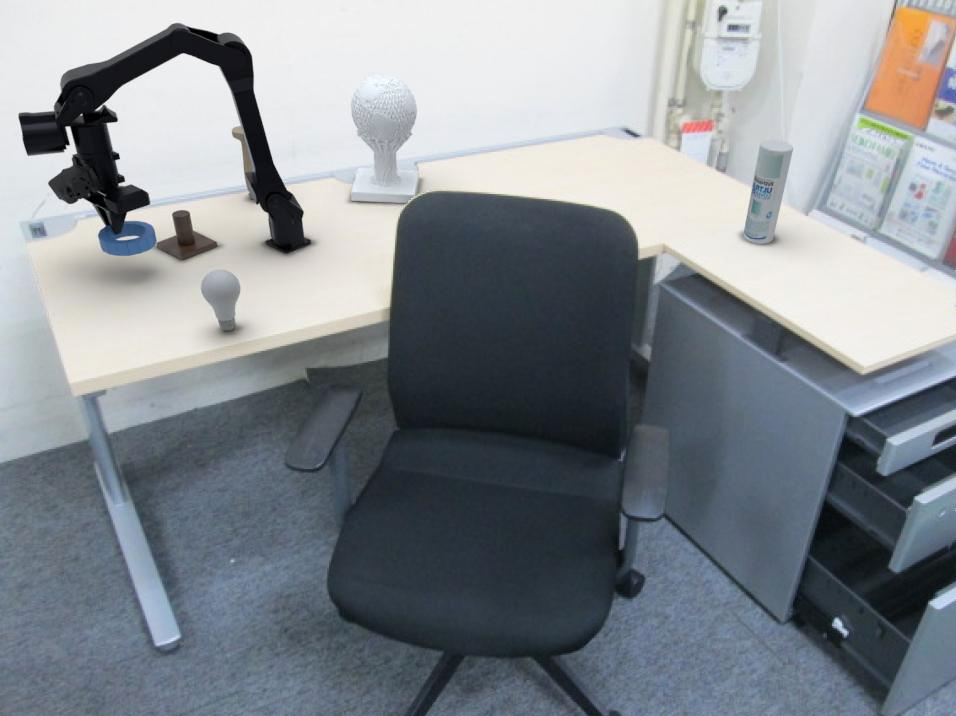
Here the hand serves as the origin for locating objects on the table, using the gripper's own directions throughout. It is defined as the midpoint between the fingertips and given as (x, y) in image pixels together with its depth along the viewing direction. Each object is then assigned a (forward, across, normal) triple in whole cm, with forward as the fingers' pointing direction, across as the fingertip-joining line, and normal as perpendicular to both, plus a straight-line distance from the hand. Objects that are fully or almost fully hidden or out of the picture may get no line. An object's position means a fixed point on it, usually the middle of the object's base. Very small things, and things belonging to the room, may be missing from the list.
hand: (114, 232), depth 165 cm
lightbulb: (+8, +32, -1) cm, 33 cm away
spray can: (+7, +83, +95) cm, 126 cm away
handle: (+7, -8, +37) cm, 39 cm away
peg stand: (+7, +1, +13) cm, 15 cm away
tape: (+1, +4, 0) cm, 4 cm away
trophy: (+7, +9, +59) cm, 60 cm away
